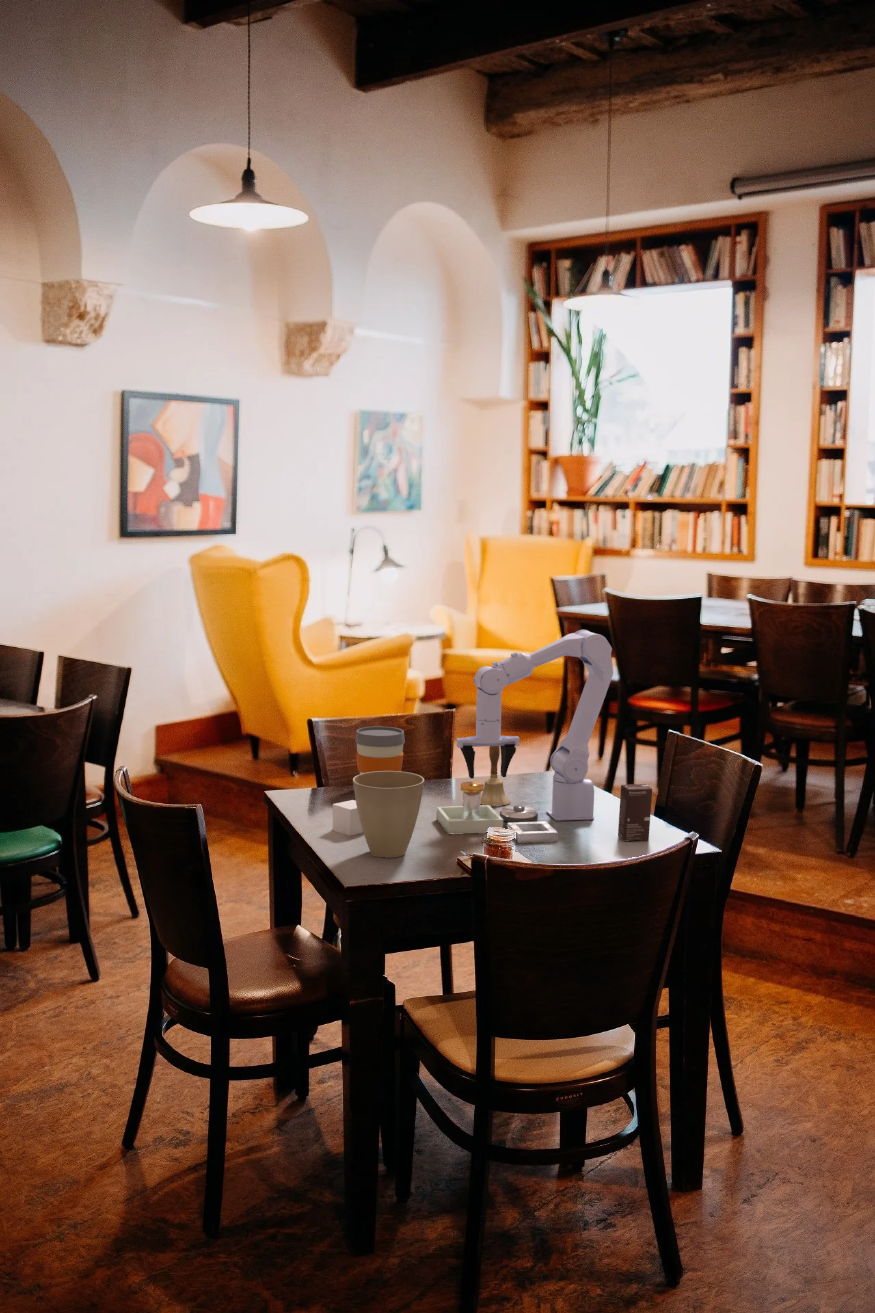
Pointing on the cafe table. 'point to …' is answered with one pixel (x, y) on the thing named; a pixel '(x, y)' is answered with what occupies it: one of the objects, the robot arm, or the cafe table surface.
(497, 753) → the hand bell
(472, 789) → the jar with gold lid
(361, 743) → the reusable coffee cup
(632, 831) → the box
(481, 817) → the parts tray
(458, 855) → the cafe table surface
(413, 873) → the cafe table surface
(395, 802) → the plant pot
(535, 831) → the tensioner bracket
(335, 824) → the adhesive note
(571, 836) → the cafe table surface
